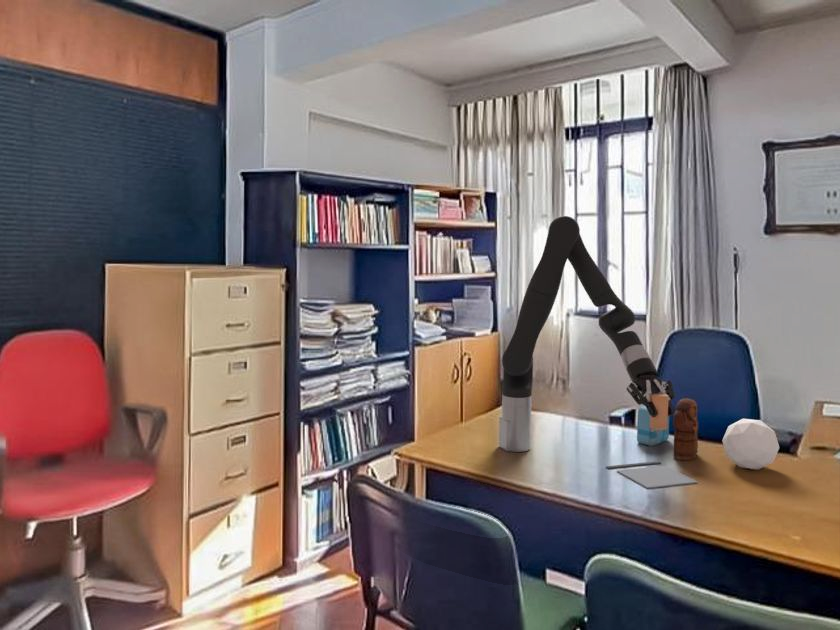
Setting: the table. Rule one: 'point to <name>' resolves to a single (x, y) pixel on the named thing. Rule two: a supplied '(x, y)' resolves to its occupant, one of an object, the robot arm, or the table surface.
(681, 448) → the wooden figurine
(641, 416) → the data package
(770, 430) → the geometric sphere
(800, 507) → the table surface
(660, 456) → the table surface
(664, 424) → the throwing cylinder
